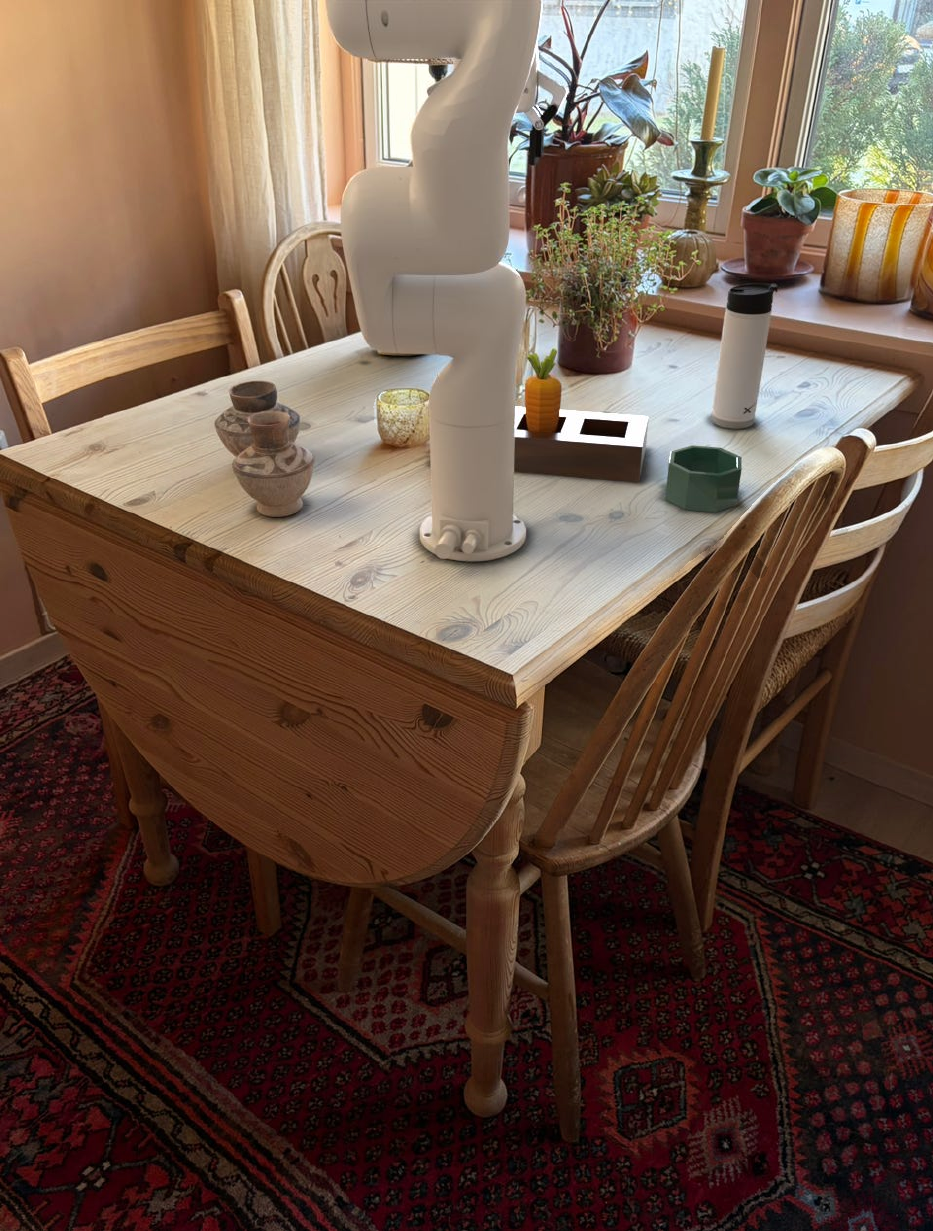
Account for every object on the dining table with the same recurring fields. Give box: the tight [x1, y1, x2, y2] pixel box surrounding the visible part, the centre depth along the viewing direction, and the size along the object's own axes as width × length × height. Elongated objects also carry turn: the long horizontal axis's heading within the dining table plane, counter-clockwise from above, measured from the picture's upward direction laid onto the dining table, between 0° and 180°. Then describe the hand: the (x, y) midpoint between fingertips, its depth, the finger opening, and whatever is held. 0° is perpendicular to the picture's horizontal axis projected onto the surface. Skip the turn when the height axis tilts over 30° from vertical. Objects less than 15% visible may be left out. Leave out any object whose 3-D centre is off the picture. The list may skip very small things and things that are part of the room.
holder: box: [664, 444, 743, 513], centre depth 125 cm, size 9×9×5 cm
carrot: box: [524, 347, 563, 433], centre depth 133 cm, size 5×5×15 cm
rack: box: [514, 406, 650, 483], centre depth 135 cm, size 11×28×5 cm, turn 77°
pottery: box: [214, 380, 315, 518], centre depth 127 cm, size 11×25×12 cm, turn 19°
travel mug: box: [710, 282, 779, 430], centre depth 142 cm, size 6×7×20 cm
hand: (496, 163), depth 125 cm, fingers open, 9 cm apart
